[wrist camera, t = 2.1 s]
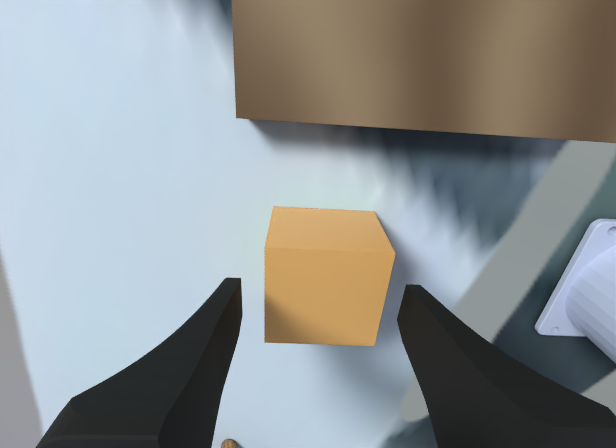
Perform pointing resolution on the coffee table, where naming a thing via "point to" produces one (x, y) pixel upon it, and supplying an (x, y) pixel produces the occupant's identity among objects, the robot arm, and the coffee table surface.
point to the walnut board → (431, 65)
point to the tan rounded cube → (325, 276)
